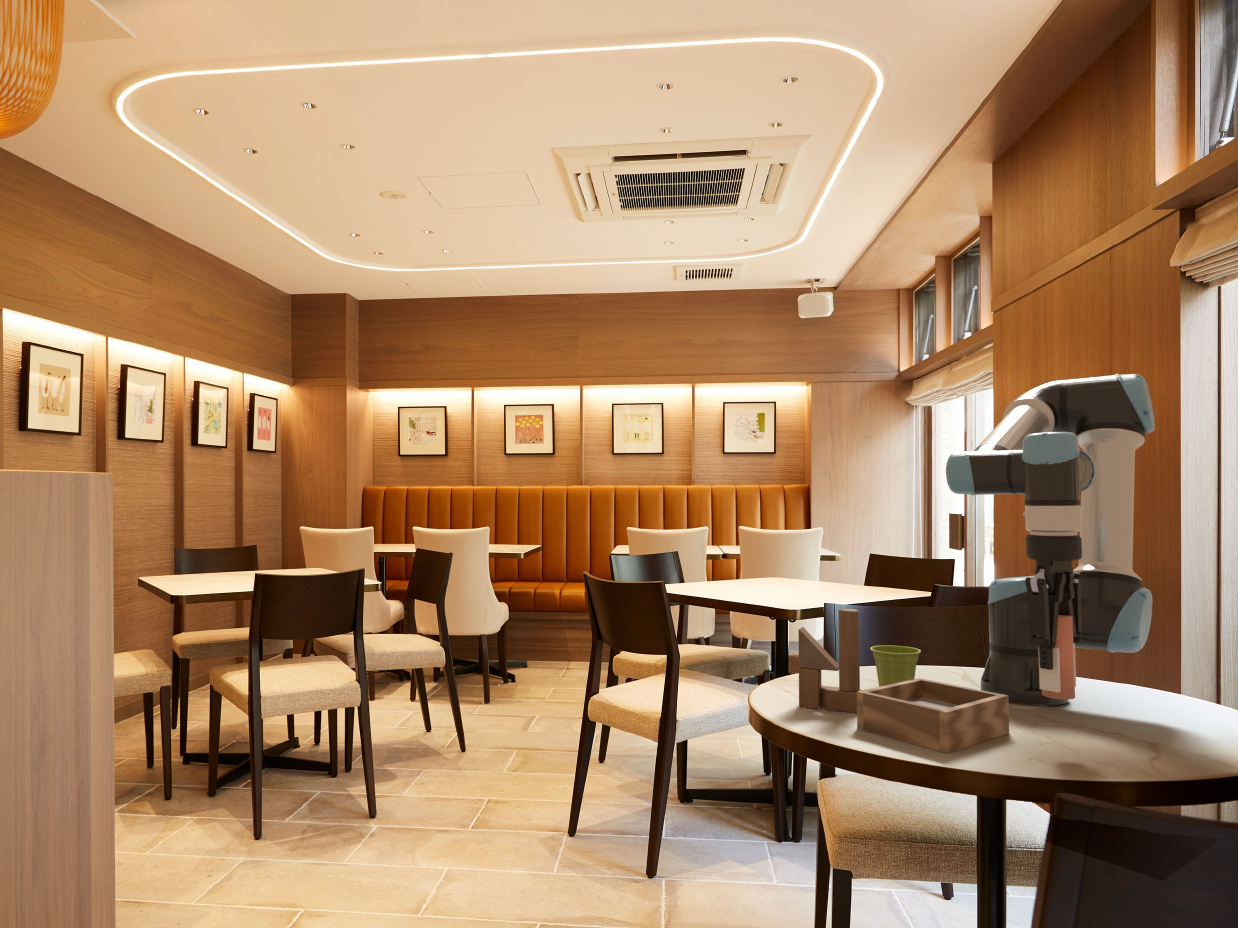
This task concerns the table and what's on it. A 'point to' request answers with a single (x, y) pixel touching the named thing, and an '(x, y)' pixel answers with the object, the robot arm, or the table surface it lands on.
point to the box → (933, 714)
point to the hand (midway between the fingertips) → (1058, 687)
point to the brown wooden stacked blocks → (831, 667)
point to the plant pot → (895, 663)
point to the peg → (1064, 659)
